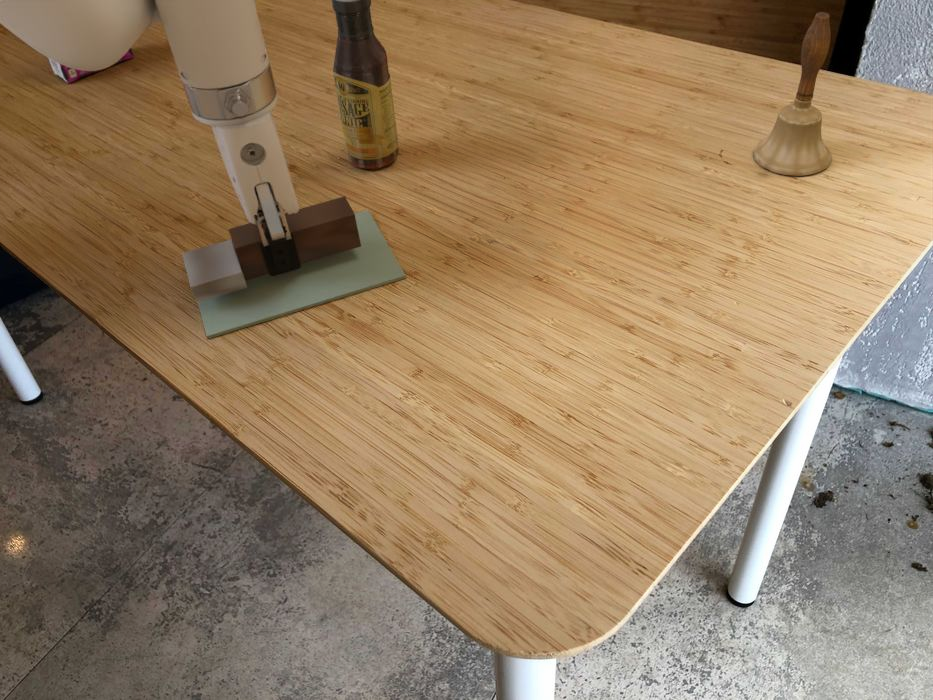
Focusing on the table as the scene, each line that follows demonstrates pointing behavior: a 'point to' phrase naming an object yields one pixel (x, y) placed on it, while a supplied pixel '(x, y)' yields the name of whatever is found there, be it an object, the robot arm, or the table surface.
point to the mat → (306, 284)
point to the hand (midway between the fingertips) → (280, 257)
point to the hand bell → (800, 115)
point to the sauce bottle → (363, 88)
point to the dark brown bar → (242, 256)
